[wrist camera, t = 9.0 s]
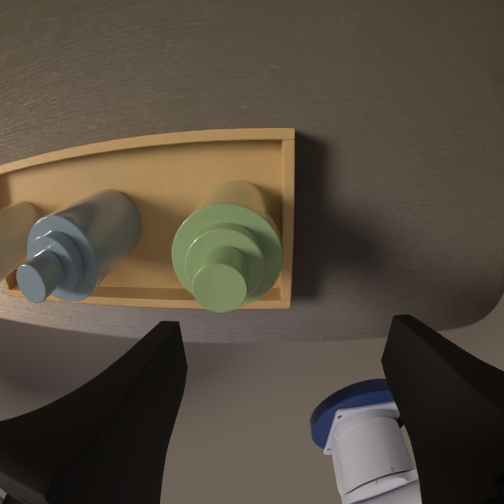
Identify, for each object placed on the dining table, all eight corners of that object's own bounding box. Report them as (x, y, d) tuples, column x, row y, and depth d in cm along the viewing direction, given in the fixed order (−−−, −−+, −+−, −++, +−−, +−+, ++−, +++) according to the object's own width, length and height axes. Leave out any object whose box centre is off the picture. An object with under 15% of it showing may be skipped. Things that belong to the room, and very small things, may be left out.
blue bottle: (146, 255, 18) (84, 335, 11) (88, 255, 18) (15, 323, 11) (137, 186, 17) (55, 230, 9) (78, 191, 17) (-13, 235, 9)
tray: (287, 292, 20) (290, 308, 18) (20, 285, 20) (7, 296, 18) (290, 129, 16) (294, 128, 14) (-5, 167, 16) (-21, 172, 14)
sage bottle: (274, 253, 18) (286, 343, 10) (200, 253, 18) (164, 341, 10) (274, 179, 16) (291, 221, 9) (195, 181, 17) (143, 224, 9)
